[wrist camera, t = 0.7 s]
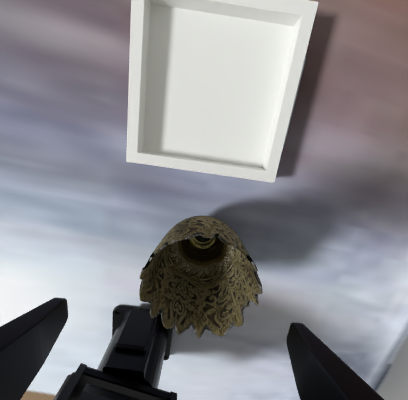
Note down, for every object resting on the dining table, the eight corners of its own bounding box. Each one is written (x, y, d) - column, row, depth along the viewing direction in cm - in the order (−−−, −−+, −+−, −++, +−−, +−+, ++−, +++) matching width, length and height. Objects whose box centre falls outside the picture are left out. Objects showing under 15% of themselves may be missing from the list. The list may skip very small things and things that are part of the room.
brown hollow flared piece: (213, 279, 22) (215, 356, 15) (150, 243, 21) (117, 306, 14) (258, 223, 20) (287, 279, 13) (191, 180, 19) (180, 213, 12)
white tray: (269, 177, 19) (276, 183, 17) (134, 158, 19) (126, 161, 17) (307, 18, 15) (321, 2, 14) (141, -9, 15) (132, -29, 13)
